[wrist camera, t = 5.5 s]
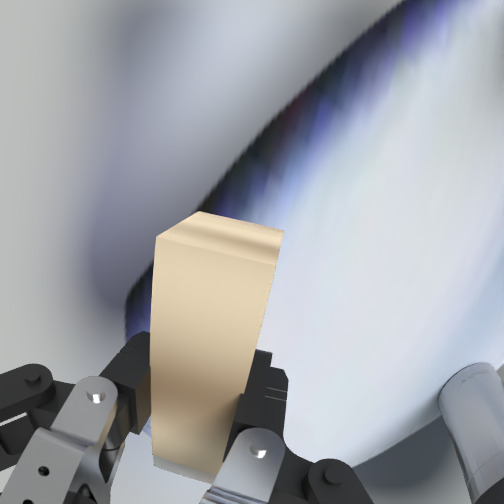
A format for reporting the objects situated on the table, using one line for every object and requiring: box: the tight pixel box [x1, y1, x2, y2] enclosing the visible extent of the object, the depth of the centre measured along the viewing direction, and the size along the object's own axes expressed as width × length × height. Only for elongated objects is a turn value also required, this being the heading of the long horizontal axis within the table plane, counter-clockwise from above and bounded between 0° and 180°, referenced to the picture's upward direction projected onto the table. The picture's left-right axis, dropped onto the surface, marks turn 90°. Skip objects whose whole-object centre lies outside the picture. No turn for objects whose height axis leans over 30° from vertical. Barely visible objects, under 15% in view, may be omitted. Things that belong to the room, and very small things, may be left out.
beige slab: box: [150, 212, 284, 484], centre depth 11 cm, size 15×5×3 cm, turn 169°
